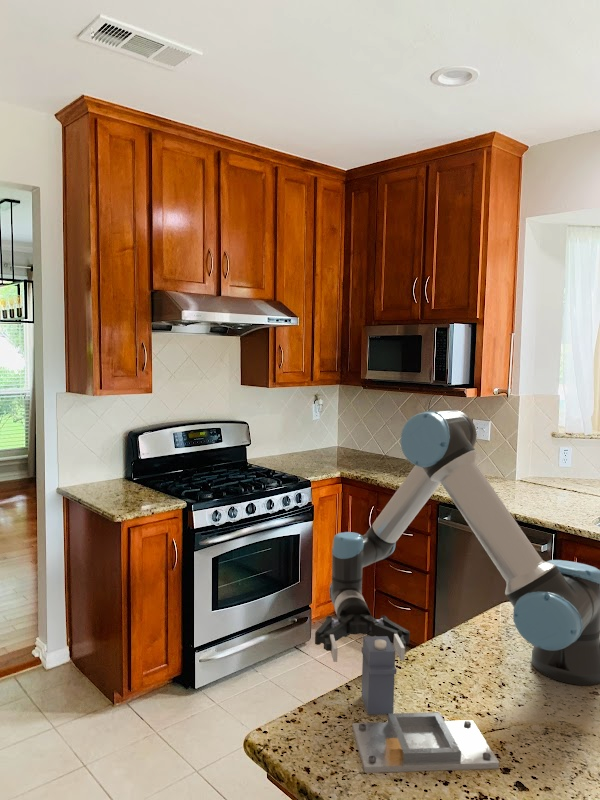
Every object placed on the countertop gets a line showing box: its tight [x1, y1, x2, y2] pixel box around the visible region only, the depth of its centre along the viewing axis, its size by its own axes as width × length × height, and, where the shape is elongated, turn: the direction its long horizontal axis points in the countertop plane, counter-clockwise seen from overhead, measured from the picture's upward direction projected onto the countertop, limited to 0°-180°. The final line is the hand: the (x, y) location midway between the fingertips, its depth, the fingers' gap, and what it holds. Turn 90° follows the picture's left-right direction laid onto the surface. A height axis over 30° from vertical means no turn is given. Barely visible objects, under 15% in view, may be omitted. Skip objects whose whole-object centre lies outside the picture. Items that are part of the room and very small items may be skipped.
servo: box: [361, 635, 397, 716], centre depth 118 cm, size 5×9×13 cm, turn 5°
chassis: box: [351, 711, 500, 774], centre depth 106 cm, size 22×12×3 cm, turn 95°
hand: (369, 654), depth 124 cm, fingers open, 13 cm apart
